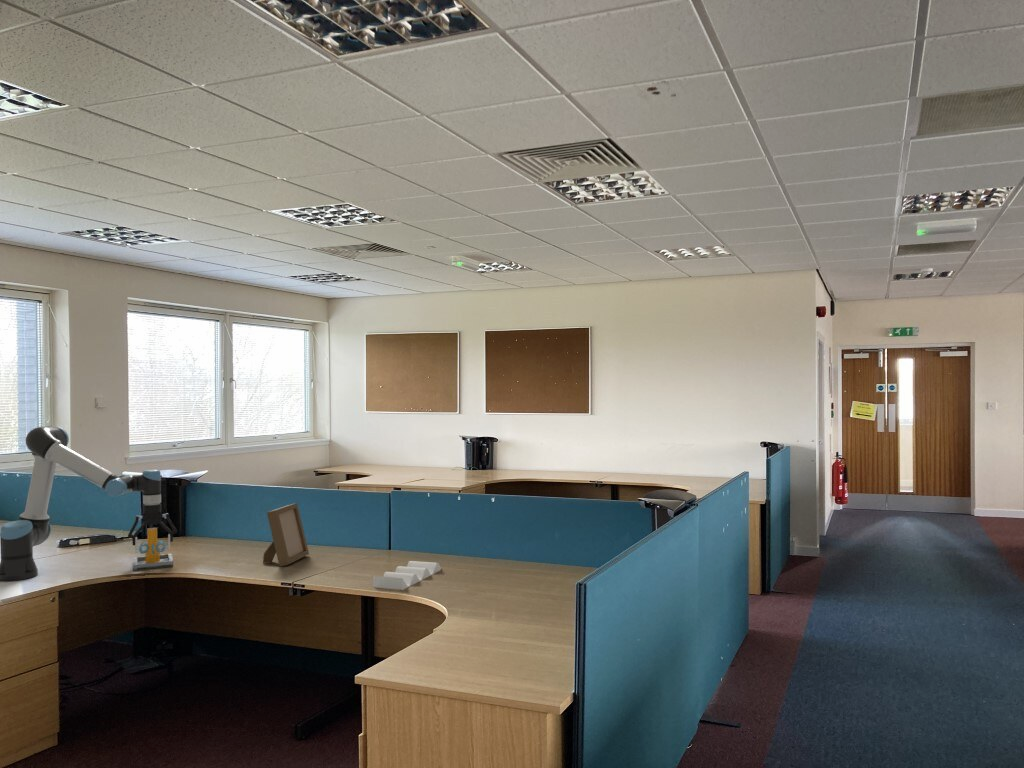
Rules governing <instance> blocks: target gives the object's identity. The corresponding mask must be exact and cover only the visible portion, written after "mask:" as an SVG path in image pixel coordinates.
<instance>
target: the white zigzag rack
mask: <svg viewBox="0 0 1024 768" xmlns="http://www.w3.org/2000/svg"><path fill="white" fill-rule="evenodd" d="M407 563H408V564H407V565H406V566H404V565H403V566H401V565H400V566H399V565H398V566H397V567H396V569H395V571H385V572H384V573H383V575H382V576H380V575H372V576H373V577H372V579H373V581H372V583H373V588H377V589H389V590H399V591H400V590H402V591H403V590H406V589H407V588H409V587H411V586H413V585H416V584H417V583H419V582H420V581H423V580H424V579H426V578H428V577H430V576H432V575H434V574H437V573H438V572H440V571H442V570H443V569H442V567H441V566H440V564H439V562H434V561H433V562H430V561H415V560H409V561H408V562H407Z"/></svg>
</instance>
